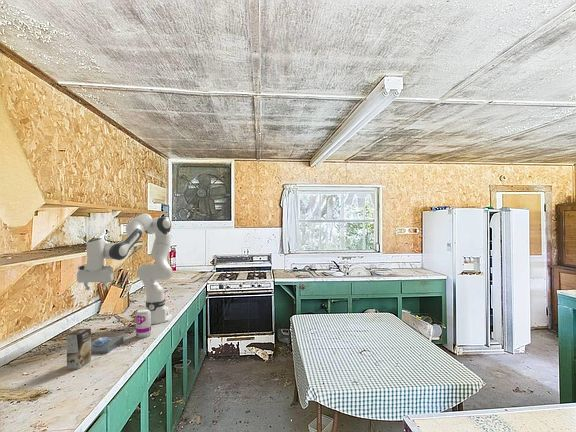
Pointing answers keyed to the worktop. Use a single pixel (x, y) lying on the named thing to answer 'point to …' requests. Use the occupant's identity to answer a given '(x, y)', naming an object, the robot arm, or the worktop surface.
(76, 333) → the coffee box
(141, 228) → the robot arm
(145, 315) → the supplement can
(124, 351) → the worktop surface
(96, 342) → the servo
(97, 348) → the plate
